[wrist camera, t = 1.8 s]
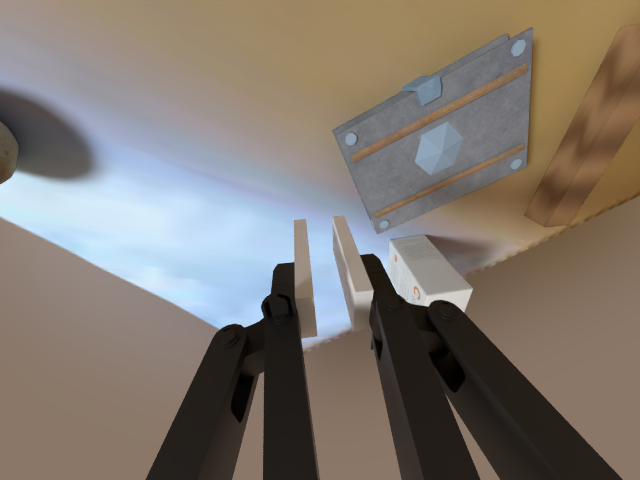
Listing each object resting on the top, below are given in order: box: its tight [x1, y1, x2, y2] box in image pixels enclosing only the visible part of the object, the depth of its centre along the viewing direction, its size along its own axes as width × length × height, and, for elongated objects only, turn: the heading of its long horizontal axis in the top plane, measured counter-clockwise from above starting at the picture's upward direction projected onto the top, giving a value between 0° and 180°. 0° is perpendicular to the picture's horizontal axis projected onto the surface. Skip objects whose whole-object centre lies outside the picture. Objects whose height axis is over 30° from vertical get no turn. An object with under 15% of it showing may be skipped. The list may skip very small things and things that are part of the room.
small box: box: [388, 235, 473, 312], centre depth 36 cm, size 8×6×13 cm
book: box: [332, 27, 533, 234], centre depth 30 cm, size 21×16×5 cm
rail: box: [524, 24, 640, 227], centre depth 31 cm, size 24×4×4 cm, turn 3°
